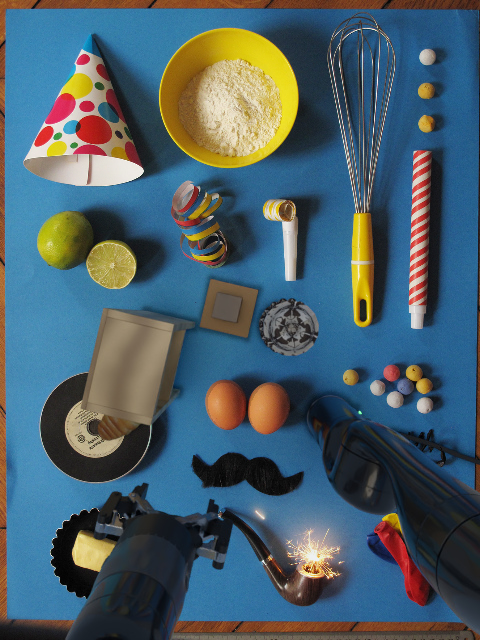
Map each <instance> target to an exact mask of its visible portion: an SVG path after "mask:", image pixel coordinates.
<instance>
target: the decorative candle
mask: <svg viewBox="0 0 480 640" xmlns="http://www.w3.org/2000/svg"><path fill="white" fill-rule="evenodd" d="M319 327H320V323H319V321H318V318H317V316H316V313H315V312H314V311H313V310H312V309H311V308H310V307H309V306H308V305H307V304H306V303H304V302H303V301H301V300H298V301H297V299H296V298H294V297H293V298H292V297H291V298H290V297H289V298H288V299H286V298H283V297H282V298H280V299H279V300H278V301H272V302H271V304H270V306H267V307H266V308H265V309H264V310H263V312H262V314H261V316H260V317H259V322H258V330H259V336H260V339H261V340H262V341H263V344H264V345H265V346H266V347H267V348H269V349H270V351H272V352H273V353H275V354H276V353H278V354H279V355H281V356H287V357H288V356H289V357H297V356H299V355H302V354H305V353H306V352H308V351H309V350H310V349H311V348H312V347H313V346H314V345H315V343H316V341H317V339H318V336H319V332H320V331H319V330H320V329H319Z"/></svg>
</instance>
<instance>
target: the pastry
mask: <svg viewBox="0 0 480 640" xmlns="http://www.w3.org/2000/svg"><path fill="white" fill-rule="evenodd" d="M140 425H143V424H142V423H137V422H133V421H129V420H125V419H121V418H117V417H113V416H108V415H104V414H103V416H102V417H101V420H100V421H99V422H98V424H97V433H98V434H99V436H100V438H101V440H104V441H108V442H109V441H112V440H117V439H120V438H122V437H123V436H128V435H130V434H131V433H132V432H133V431H135V430H136V429H137V428H138V427H139V426H140Z"/></svg>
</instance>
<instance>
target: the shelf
mask: <svg viewBox="0 0 480 640" xmlns="http://www.w3.org/2000/svg"><path fill="white" fill-rule="evenodd" d="M98 325H99V326H98V329H97V335H96V338H95V342H94V348H93V352H92V356H91V361H90V365H89V369H88V374H87V378H86V382H85V387H84V391H83V395H82V400H81V403H80V404H81V405H80V407H79V408H80V410H83V411H88V412H93V413H95V414H96V413H97V414H99V415H103V416H104V415H108V416H113V417H117V418H121V419H125V420H129V421H133V422H137V423H142V424H141V425H146V426H149V427H150V426H152V425H153V424H154V423H155V422H156V421H157V419H159V417H160V416H161V415H162V414H163V413H164V412H165V411H166V410H167V409H168V408H169V406H171V405H172V403H173V402H174V401H175V400H176V399H177V398H178V397H179V396H180V392H181V389H179V388H174V384H175V380H176V375H177V371H178V366H179V363H180V357H181V353H182V350H183V346H184V340H185V338H186V337H185V336H186V332H187V330H191V329H195V328H196V321H193V320H187V319H184V318H179V317H174V316H171V315H167V314H163V313H157V312H153V311H149V310H146V309H145V310H143V309H130V308H128V309H127V308H116V307H115V308H114V307H102V312H101V317H100V321H99V324H98Z"/></svg>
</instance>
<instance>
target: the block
mask: <svg viewBox="0 0 480 640" xmlns="http://www.w3.org/2000/svg"><path fill="white" fill-rule="evenodd" d="M242 301H243V298H242V297H238V296H233V295H229V294H224V293H220V292H217V294H216V299H215V303H214V307H213V312H212V316H211V317H212V318H217V319H221V320H225V321H230V322H234V323H237V322H238V318H239V314H240V310H241V305H242Z"/></svg>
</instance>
